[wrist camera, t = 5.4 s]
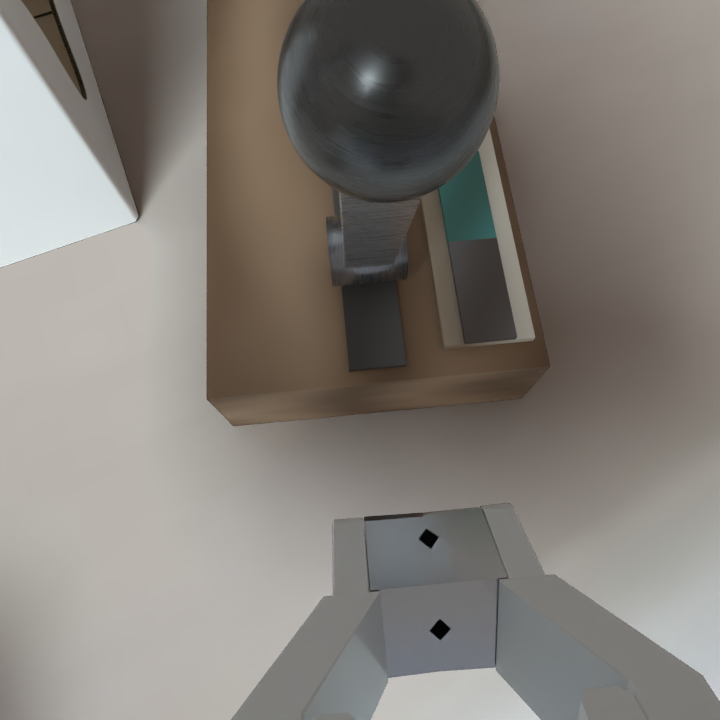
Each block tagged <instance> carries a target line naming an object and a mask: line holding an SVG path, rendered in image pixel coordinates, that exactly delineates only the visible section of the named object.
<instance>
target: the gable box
mask: <svg viewBox="0 0 720 720" xmlns="http://www.w3.org/2000/svg"><path fill="white" fill-rule="evenodd" d="M138 217H139V216H138V213H137V209H136V206H135V203H134V200H133V197H132V194H131V190H130V187H129V184H128V181H127V178H126V175H125V171H124V168H123V165H122V162H121V159H120V156H119V152H118V149H117V146H116V143H115V140H114V137H113V133H112V130H111V127H110V124H109V121H108V118H107V114H106V111H105V108H104V105H103V102H102V99H101V95H100V92H99V89H98V86H97V83H96V80H95V76H94V73H93V70H92V67H91V64H90V61H89V57H88V54H87V51H86V48H85V45H84V42H83V38H82V35H81V32H80V29H79V26H78V23H77V19H76V16H75V13H74V10H73V7H72V4H71V0H0V268H1V267H4V266H7V265H10V264H13V263H15V262H18V261H21V260H24V259H27V258H30V257H33V256H36V255H39V254H42V253H45V252H48V251H51V250H54V249H57V248H60V247H63V246H65V245H68V244H71V243H74V242H77V241H80V240H83V239H86V238H89V237H92V236H95V235H98V234H101V233H104V232H107V231H110V230H112V229H115V228H118V227H121V226H124V225H127V224H130V223H133V222H135V221H136V220H137V218H138Z"/></svg>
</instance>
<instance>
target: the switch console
mask: <svg viewBox="0 0 720 720" xmlns="http://www.w3.org/2000/svg"><path fill="white" fill-rule="evenodd" d="M303 2H304V0H207V400H208V401H209V402H210V403H211V404H212V405H213V406H214V407H215V408H216V409H217V410H218V411H219V412H220V413H221V414H222V415H223V416H224V417H225V418H226V419H227V420H228V421H229V422H230V423H231V424H232V425H233V426H239V425H249V424H260V423H270V422H281V421H291V420H302V419H312V418H322V417H333V416H343V415H354V414H364V413H375V412H385V411H395V410H406V409H416V408H427V407H437V406H448V405H458V404H469V403H479V402H489V401H500V400H510V399H521V398H522V397H523V396H524V395H525V394H526V393H527V392H528V390H529V389H530V388H531V387H532V386H533V385H534V384H535V383H536V381H537V380H538V379H539V378H540V377H541V376H542V375H543V374H544V373H545V371H546V370H547V369H548V368H549V367H550V363H549V359H548V354H547V350H546V346H545V341H544V337H543V332H542V328H541V323H540V319H539V314H538V310H537V305H536V301H535V297H534V292H533V288H532V283H531V279H530V274H529V270H528V265H527V261H526V257H525V252H524V248H523V243H522V239H521V234H520V230H519V225H518V221H517V216H516V212H515V208H514V203H513V199H512V194H511V190H510V185H509V181H508V176H507V172H506V168H505V163H504V159H503V154H502V150H501V145H500V141H499V136H498V132H497V127H496V123H495V119H494V116H493V119H492V122H491V124H490V127H489V130H488V132H487V134H486V137H485V139H484V140H483V142H482V144H481V146H480V148H479V149H478V151H477V152H476V153H475V155H474V156H473V158H472V159H471V160H470V162H469V163H468V164H467V165H466V166H465V167H464V168H463V169H462V170H461V171H460V172H459V174H458V175H456V176H455V177H454V178H453V179H451V180H450V181H449V182H448V183H446V184H445V185H443V186H441V187H440V188H438V189H436V190H435V191H433V192H431V193H429V194H426V195H424V196H422V198H421V200H420V203H419V205H418V207H417V210H416V212H415V215H414V217H413V219H412V222H411V224H410V226H409V229H408V231H407V233H406V235H407V247H408V276H407V279H406V280H398V281H387V282H376V283H365V284H354V285H343V286H332V278H331V270H330V260H329V250H328V240H327V228H326V217H328V216H339V215H341V214H340V201H339V191H337V190H335V189H333V188H332V187H330V186H329V185H328V184H326V183H325V182H323V181H322V180H321V179H320V178H319V177H318V176H317V175H316V174H314V173H313V172H312V171H311V170H310V169H309V168H308V167H307V165H306V164H305V163H304V162H303V160H302V159H301V158H300V156H299V155H298V153H297V152H296V150H295V148H294V147H293V145H292V143H291V141H290V138H289V136H288V134H287V132H286V129H285V127H284V124H283V120H282V117H281V114H280V107H279V101H278V94H277V72H278V63H279V56H280V52H281V47H282V43H283V40H284V38H285V35H286V32H287V30H288V27H289V25H290V23H291V21H292V19H293V17H294V15H295V14H296V12H297V10H298V8H299V7H300V6H301V4H302V3H303Z"/></svg>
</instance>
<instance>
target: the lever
mask: <svg viewBox="0 0 720 720" xmlns="http://www.w3.org/2000/svg"><path fill="white" fill-rule="evenodd" d="M498 88H499V64H498V57H497V51H496V45H495V42H494V38H493V35H492V32H491V29H490V27H489V25H488V23H487V20H486V18H485V16H484V14H483V12H482V11H481V9H480V7H479V6H478V4H477V2H476V1H475V0H304V2H303V3H302V4H301V6H300V7H299V8H298V10H297V12H296V14H295V15H294V17H293V19H292V21H291V23H290V25H289V27H288V30H287V32H286V35H285V38H284V40H283V43H282V47H281V52H280V56H279V63H278V72H277V94H278V101H279V107H280V114H281V117H282V120H283V124H284V127H285V129H286V132H287V134H288V136H289V138H290V141H291V143H292V145H293V147H294V148H295V150H296V152H297V153H298V155H299V156H300V158H301V159H302V160H303V162H304V163H305V164H306V165H307V167H308V168H309V169H310V170H311V171H312V172H313V173H314V174H316V175H317V176H318V177H319V178H320V179H321V180H322V181H323V182H325V183H326V184H328V185H329V186H330V187H332V188H333V189H335V190H337V191H339V201H340V214H341V215H339V216H328V217H326V228H327V240H328V250H329V260H330V270H331V278H332V286H343V285H354V284H365V283H376V282H387V281H398V280H406V279H407V276H408V247H407V235H406V233H407V231H408V229H409V226H410V224H411V222H412V219H413V217H414V215H415V212H416V210H417V207H418V205H419V203H420V200H421V198H422V196H424V195H426V194H429V193H431V192H433V191H435V190H436V189H438V188H440V187H441V186H443V185H445V184H446V183H448V182H449V181H450V180H451V179H453V178H454V177H455V176H456V175H458V174H459V172H460V171H461V170H462V169H463V168H464V167H465V166H466V165H467V164H468V163H469V162H470V160H471V159H472V158H473V156H474V155H475V153H476V152H477V151H478V149H479V148H480V146H481V144H482V142H483V140H484V139H485V137H486V134H487V132H488V130H489V127H490V124H491V122H492V119H493V116H494V112H495V108H496V104H497V97H498Z"/></svg>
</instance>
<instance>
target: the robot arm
mask: <svg viewBox="0 0 720 720" xmlns="http://www.w3.org/2000/svg"><path fill="white" fill-rule="evenodd" d="M364 524H365V529H364ZM365 537H366V539H365ZM332 545H333V596H325V597H323V598H322V599H321V601H320V602H319V603H318V605H317V606H316V607H315V609H314V610H313V611H312V613H311V614H310V615H309V617H308V618H307V619H306V621H305V622H304V623H303V625H302V626H301V627H300V629H299V630H298V631H297V633H296V634H295V635H294V637H293V638H292V639H291V641H290V642H289V643H288V645H287V646H286V647H285V649H284V650H283V651H282V653H281V654H280V655H279V657H278V658H277V659H276V661H275V662H274V663H273V665H272V666H271V667H270V669H269V670H268V671H267V673H266V674H265V675H264V677H263V678H262V679H261V681H260V682H259V683H258V685H257V686H256V687H255V689H254V690H253V691H252V693H251V694H250V695H249V697H248V698H247V699H246V701H245V702H244V703H243V705H242V706H241V707H240V709H239V710H238V711H237V713H236V714H235V715H234V716H233V718H232V719H231V720H371V718H372V715H373V713H374V711H375V709H376V707H377V704H378V702H379V700H380V698H381V696H382V693H383V691H384V689H385V687H386V685H387V682H388V678H391V677H399V676H407V675H415V674H423V673H430V672H438V671H451V670H465V669H480V668H494V667H496V671H497V672H498V673H499V674H500V675H501V676H502V677H503V678H504V680H505V681H506V682H507V683H508V684H509V685H510V686H511V687H512V688H513V689H514V691H515V692H516V693H517V694H518V695H519V696H520V697H521V698H522V699H523V700H524V701H525V703H526V704H527V705H528V706H529V707H530V708H531V709H532V710H533V711H534V712H535V714H536V715H537V716H538V717H539V718H540V719H541V720H720V701H719V700H718V698H717V697H716V695H715V694H714V692H713V691H712V689H711V688H710V686H709V685H708V683H707V681H706V680H705V678H704V677H703V675H701V674H700V673H698V672H697V671H695V670H694V669H692V668H691V667H690V666H688V665H687V664H685V663H684V662H682V661H681V660H679V659H678V658H676V657H675V656H673V655H672V654H671V653H669V652H668V651H666V650H665V649H663V648H662V647H660V646H659V645H657V644H656V643H654V642H653V641H651V640H650V639H649V638H647V637H646V636H644V635H643V634H641V633H640V632H638V631H637V630H635V629H634V628H632V627H631V626H629V625H628V624H627V623H625V622H624V621H622V620H621V619H619V618H618V617H616V616H615V615H613V614H612V613H610V612H609V611H608V610H606V609H605V608H603V607H602V606H600V605H599V604H597V603H596V602H594V601H593V600H591V599H590V598H588V597H587V596H586V595H584V594H583V593H581V592H580V591H578V590H577V589H575V588H574V587H572V586H571V585H569V584H568V583H566V582H565V581H564V580H562V579H561V578H559V577H558V576H556V575H555V574H553V575H545V573H544V571H543V569H542V567H541V565H540V563H539V561H538V558H537V556H536V554H535V552H534V550H533V548H532V546H531V543H530V541H529V539H528V537H527V535H526V533H525V530H524V528H523V526H522V524H521V522H520V520H519V518H518V515H517V513H516V511H515V509H514V507H513V506H512V505H511V504H510V503H503V504H495V505H486V506H480V507H474V508H464V509H454V510H444V511H435V512H425V513H411V514H397V515H383V516H369V517H364V520H363V518H362V517H361V518H348V519H335V520H334V521H333V525H332Z"/></svg>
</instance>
